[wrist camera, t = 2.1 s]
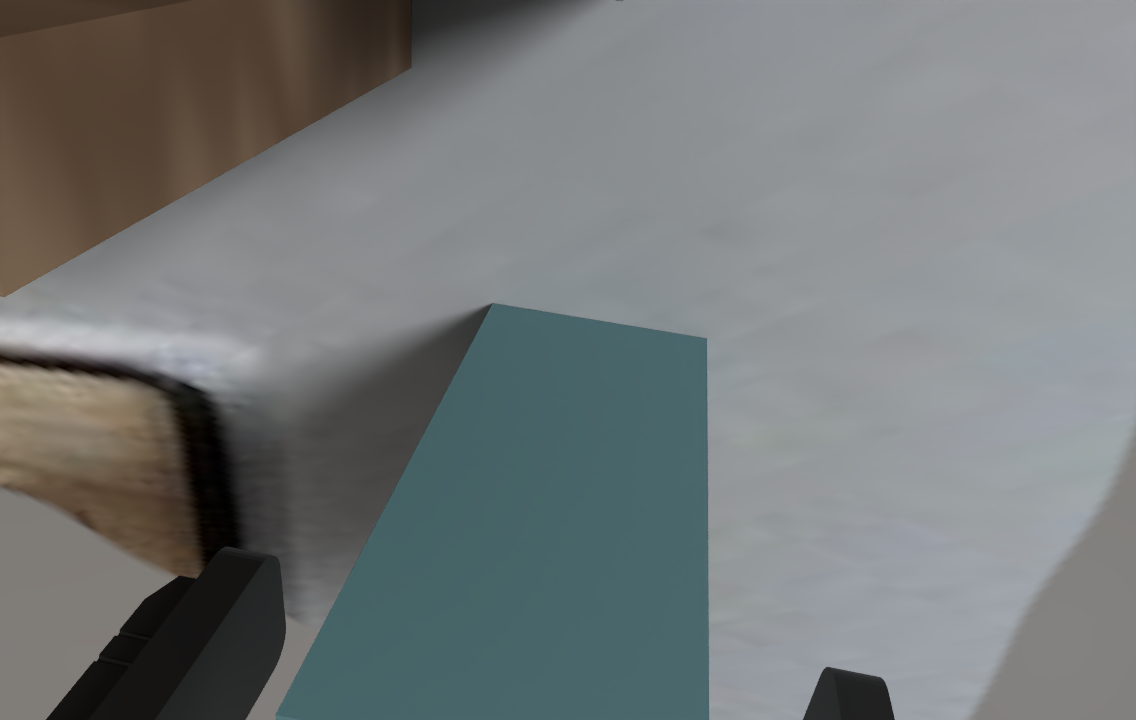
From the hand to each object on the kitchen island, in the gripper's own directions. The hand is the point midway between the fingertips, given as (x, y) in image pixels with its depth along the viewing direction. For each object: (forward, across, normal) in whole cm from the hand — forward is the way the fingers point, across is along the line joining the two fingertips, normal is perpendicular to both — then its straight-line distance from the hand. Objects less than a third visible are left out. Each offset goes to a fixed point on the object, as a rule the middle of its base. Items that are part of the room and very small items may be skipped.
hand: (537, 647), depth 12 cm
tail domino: (+8, 0, 0) cm, 9 cm away
